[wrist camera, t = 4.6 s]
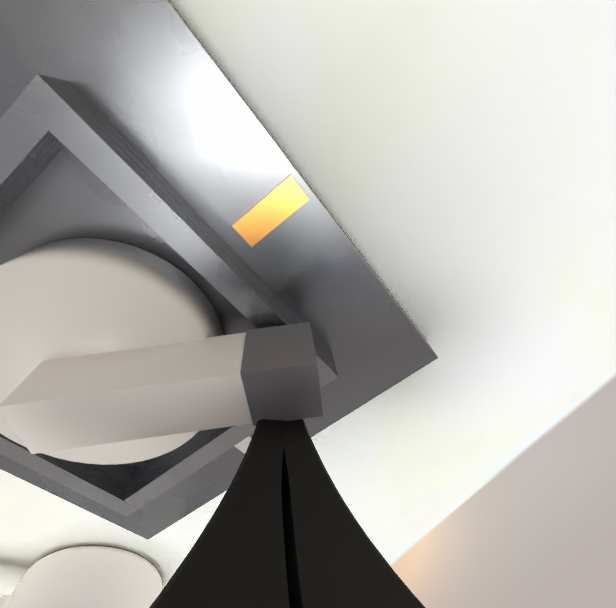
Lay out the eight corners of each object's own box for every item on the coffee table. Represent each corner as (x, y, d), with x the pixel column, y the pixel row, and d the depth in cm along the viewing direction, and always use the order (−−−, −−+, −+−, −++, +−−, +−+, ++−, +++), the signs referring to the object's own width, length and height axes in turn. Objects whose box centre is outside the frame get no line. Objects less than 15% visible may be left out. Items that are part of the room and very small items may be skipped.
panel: (-253, 305, 12) (-384, 349, 10) (61, -141, 8) (-30, -254, 6) (154, 517, 19) (137, 571, 17) (426, 341, 15) (454, 381, 13)
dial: (53, 435, 14) (-19, 534, 11) (-63, 254, 11) (-229, 318, 7) (317, 398, 15) (330, 483, 11) (295, 210, 11) (304, 251, 7)
